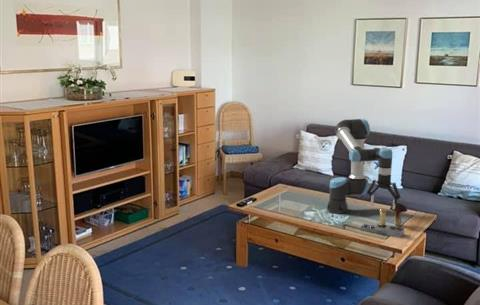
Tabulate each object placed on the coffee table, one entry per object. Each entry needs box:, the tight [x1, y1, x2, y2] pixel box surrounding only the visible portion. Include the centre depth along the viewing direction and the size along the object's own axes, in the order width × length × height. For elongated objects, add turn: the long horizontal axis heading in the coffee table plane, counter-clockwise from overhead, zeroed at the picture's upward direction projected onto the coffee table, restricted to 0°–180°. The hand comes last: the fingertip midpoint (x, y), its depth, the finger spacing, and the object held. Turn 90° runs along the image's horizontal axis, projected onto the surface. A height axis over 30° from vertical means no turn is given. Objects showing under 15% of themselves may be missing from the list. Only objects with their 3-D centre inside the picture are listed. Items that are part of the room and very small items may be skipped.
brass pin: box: [378, 208, 387, 228], centre depth 308 cm, size 4×4×15 cm
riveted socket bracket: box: [360, 222, 405, 238], centre depth 309 cm, size 25×7×5 cm, turn 57°
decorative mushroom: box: [389, 202, 408, 227], centre depth 319 cm, size 11×11×15 cm
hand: (382, 206), depth 307 cm, fingers open, 13 cm apart
